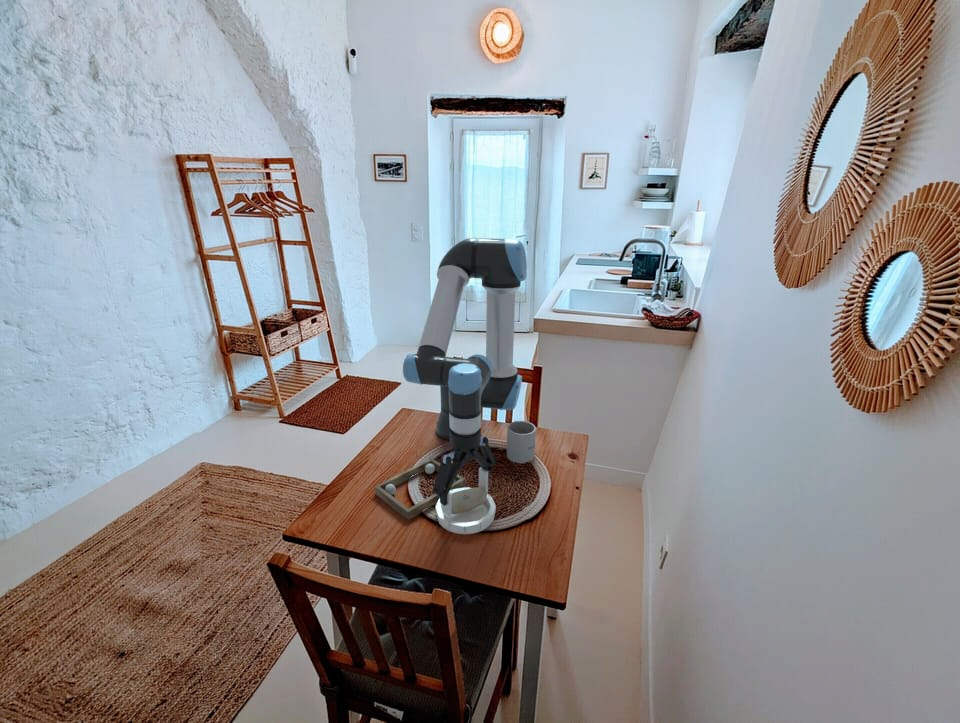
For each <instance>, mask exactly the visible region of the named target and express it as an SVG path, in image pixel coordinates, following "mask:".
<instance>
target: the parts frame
mask: <svg viewBox="0 0 960 723" xmlns="http://www.w3.org/2000/svg"><path fill="white" fill-rule="evenodd" d="M427 464H433V465H434V467H435V471H436V472H437V473H438V470H439V467H440V464H441V462H438V461H437V460H435V459H433V457H430V458H427V459H425V460H424V461H422V462H420V463H418V464H416V465H414V466H412V467H410V468H408V469H406V470H404V471H403V472H400V473H398V474H396V475H394V476H393V477H390V478H389V479H386V480H385V481H382V482H380V483H379V484H377V485H374V495H375V496H377V497H378V498H380V500H382V501H383V502H385V503H386V504H387V505H388V506H390V507H391V509H393V510H395V511H396V512H398V513H399V514H400V515H401V516H402V517H404V518H405V519H406V520H407V521H410V520H412V519H413V518H416V517H417V516H419V515H420V514H422V513H423V512H424V511H423V510H424V509H426V508H428V507H430V508H432V507H433V506H436V504H437V502H438V500H439V498H440V496H438V495H437V494H435V493H433V494H432V495H430V496H428V497H426V498H425V499H423V500H422V501H419V502H418V503H416V504H415V505H413V506H410V507H409V508H408V507H407V506H406V505H405V504H403V503H402V502H400V501H399V499H397V498H396V497H394V496H393V495H390V494H389V493H388V492H386V491H385V487H386V486H387V485H388V484H393V485H394V486H395V487H396V486H398V485H400V484H402V483H404V482H406V481H408V480H410V479H411V478H410V477H411V476H412V475H415V474H417V473H420V472H421V473H423V472H425V466H426V465H427ZM422 471H423V472H422ZM421 473H420V474H421ZM409 478H410V479H409ZM455 480H456V482H454V483H453V485H452V487H451V489H450V490H453V489H458V488H465V487H466V478H465V477H463V476H461V475H460V474H459V473H458V474H457V476H456V478H455ZM431 506H432V507H431ZM428 509H429V508H428ZM422 511H423V512H422ZM421 512H422V513H421Z"/></svg>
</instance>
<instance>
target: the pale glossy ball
mask: <svg viewBox="0 0 960 723" xmlns="http://www.w3.org/2000/svg"><path fill="white" fill-rule="evenodd" d="M435 471H436V470H435V467H434V465H433V464H427V465H426V466H425V471H424V472H425V473H426V474H428V475H432V474H434V472H435Z"/></svg>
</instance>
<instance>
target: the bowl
mask: <svg viewBox="0 0 960 723" xmlns="http://www.w3.org/2000/svg"><path fill="white" fill-rule="evenodd" d="M470 488H471V487H468V486H467V487H466V486H465V487H464V488H458V489H453V490H450V491H449V492H450V493H451V494H453V493H455V492H458V491H461V490H465V489H470ZM496 507H497V506H496V503H495V501H494V498H493V497H492V495H491V494H489V493H487V498H486V500H485V501H484V503H482V504H481V505H480V506H478V507H476V508H474V509H472V510H470V511H467V512H464V513H460V514H452V515H451V516H450V517H449V516H448V515H446V514H445V513H444V512H442V504H441V503H440V498H439V500H438V502H437V504H435V514H436V519H438V520H437V522H438V521H439V522H438V523H439V526H441V527H442V528H443V529H445V530H446V531H448V532H451V533H453V534H457V535H474V534H477V533H480V532H482V531H484V530H486V529H487V528H489V527H490V526H491V525H492V524H493V522H494V519H495V516H496V515H495V514H496V510H497V508H496Z"/></svg>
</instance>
